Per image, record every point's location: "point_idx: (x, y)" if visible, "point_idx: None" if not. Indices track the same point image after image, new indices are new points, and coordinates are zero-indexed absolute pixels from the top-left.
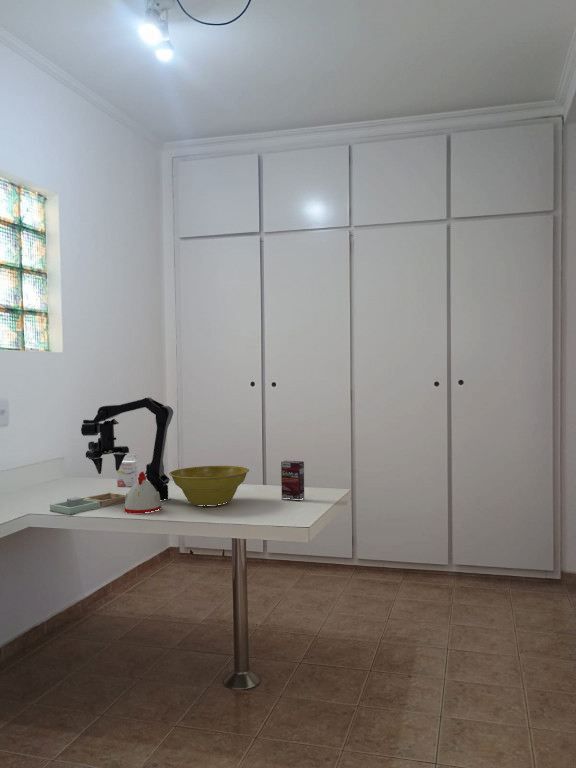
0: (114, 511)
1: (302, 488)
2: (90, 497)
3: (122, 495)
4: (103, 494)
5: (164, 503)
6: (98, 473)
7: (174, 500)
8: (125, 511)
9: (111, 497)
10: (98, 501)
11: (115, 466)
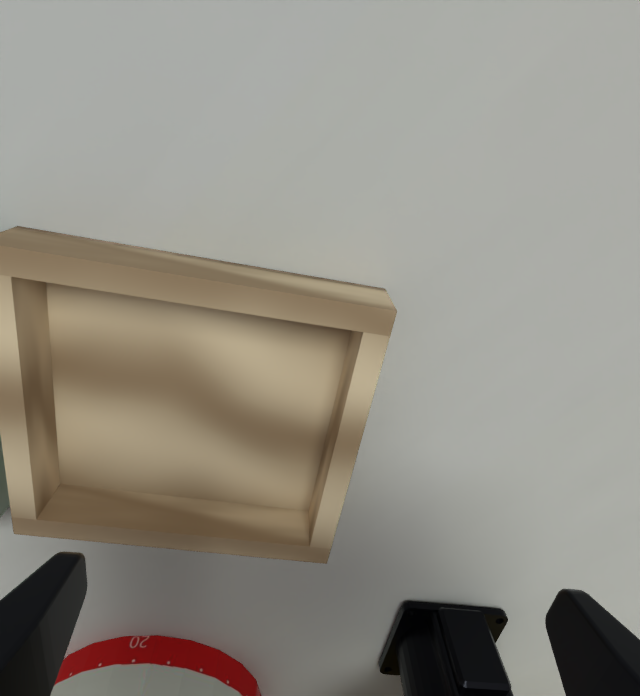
0: None
1: None
2: (80, 286)
3: (320, 500)
4: (271, 317)
5: (358, 691)
6: (56, 554)
7: None
8: None
9: (352, 335)
10: (12, 487)
11: (630, 672)
